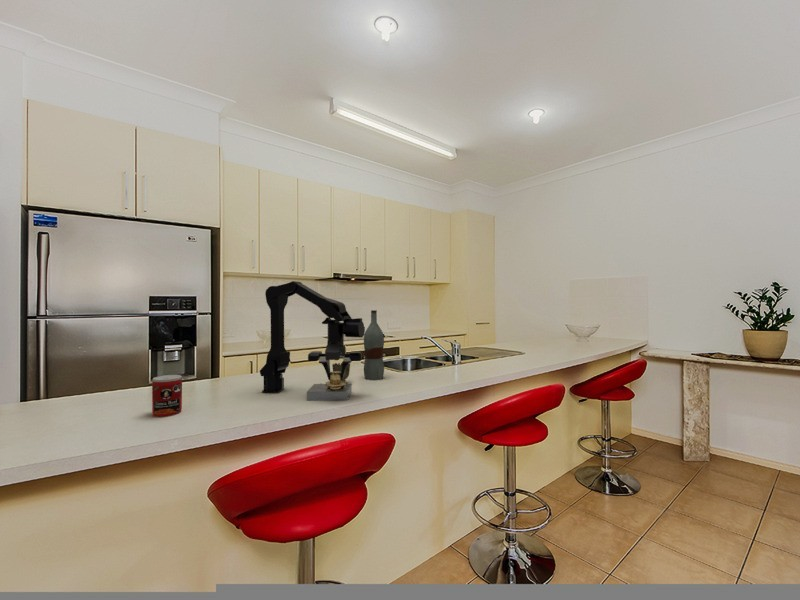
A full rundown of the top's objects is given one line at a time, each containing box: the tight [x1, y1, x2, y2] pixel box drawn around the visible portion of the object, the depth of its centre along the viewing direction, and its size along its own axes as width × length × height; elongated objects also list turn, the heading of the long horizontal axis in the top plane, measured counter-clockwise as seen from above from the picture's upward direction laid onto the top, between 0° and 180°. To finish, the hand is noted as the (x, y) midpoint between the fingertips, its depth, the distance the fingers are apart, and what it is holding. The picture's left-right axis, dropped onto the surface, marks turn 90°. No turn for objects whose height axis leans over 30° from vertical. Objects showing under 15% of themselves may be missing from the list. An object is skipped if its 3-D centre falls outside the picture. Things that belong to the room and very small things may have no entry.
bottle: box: [363, 309, 385, 381], centre depth 165 cm, size 9×9×30 cm
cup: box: [331, 362, 351, 383], centre depth 155 cm, size 8×7×8 cm
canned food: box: [151, 374, 183, 418], centre depth 114 cm, size 8×8×11 cm
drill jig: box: [306, 383, 353, 401], centre depth 134 cm, size 14×12×3 cm
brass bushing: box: [324, 370, 347, 389], centre depth 134 cm, size 7×7×7 cm
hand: (335, 380), depth 134 cm, fingers closed on brass bushing, 4 cm apart
